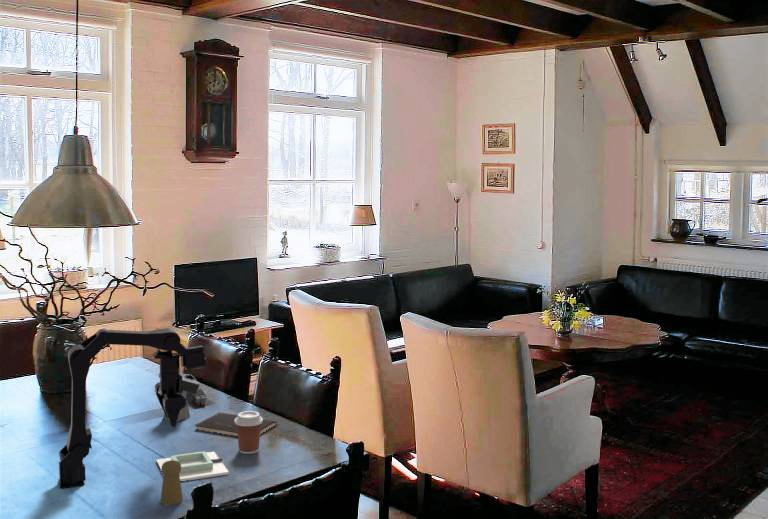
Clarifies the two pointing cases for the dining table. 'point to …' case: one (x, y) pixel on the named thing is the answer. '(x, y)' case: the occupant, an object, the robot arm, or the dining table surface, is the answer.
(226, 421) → the hardcover book
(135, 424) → the dining table surface
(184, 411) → the coffeepot
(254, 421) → the coffee cup
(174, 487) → the cork
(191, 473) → the dock plate
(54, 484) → the dining table surface
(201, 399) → the gun
